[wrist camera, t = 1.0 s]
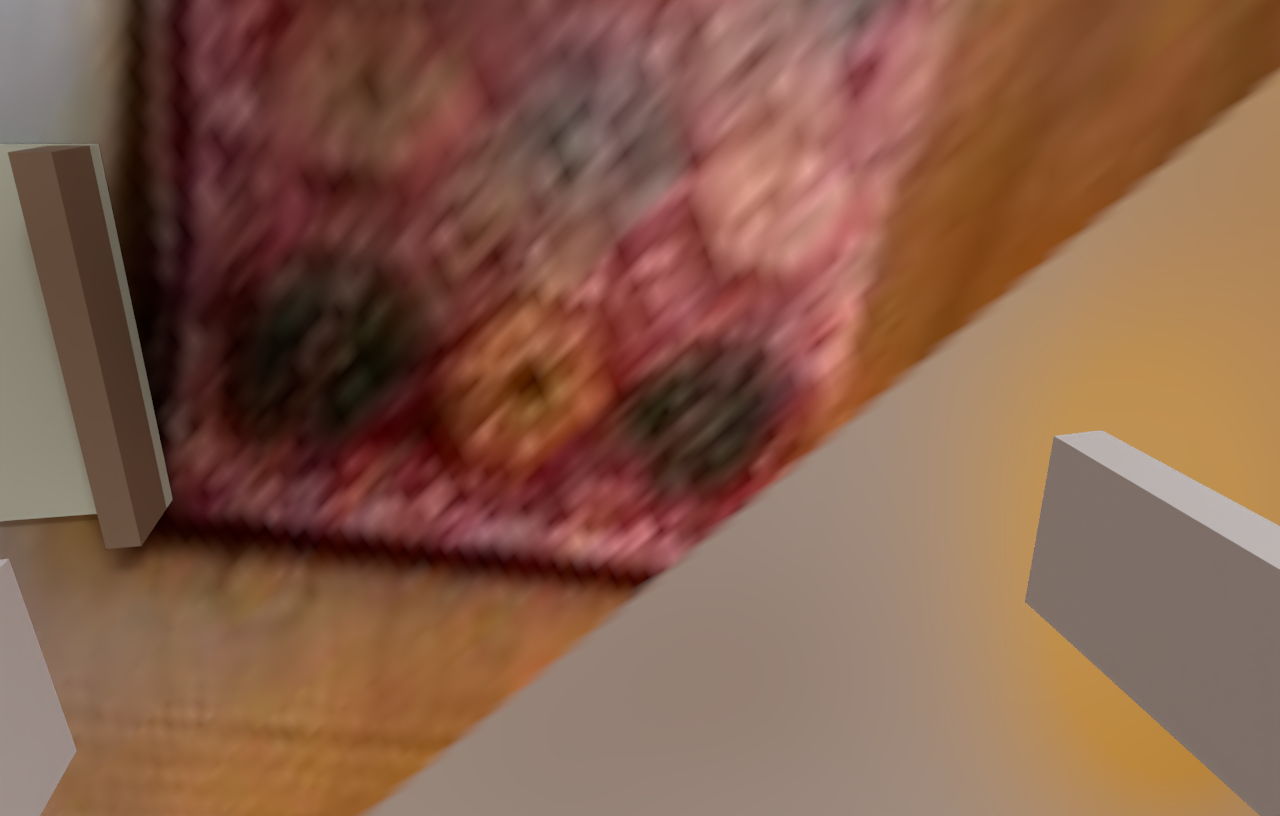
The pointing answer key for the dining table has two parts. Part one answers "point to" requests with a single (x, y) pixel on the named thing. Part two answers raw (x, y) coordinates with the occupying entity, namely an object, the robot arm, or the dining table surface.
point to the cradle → (71, 353)
